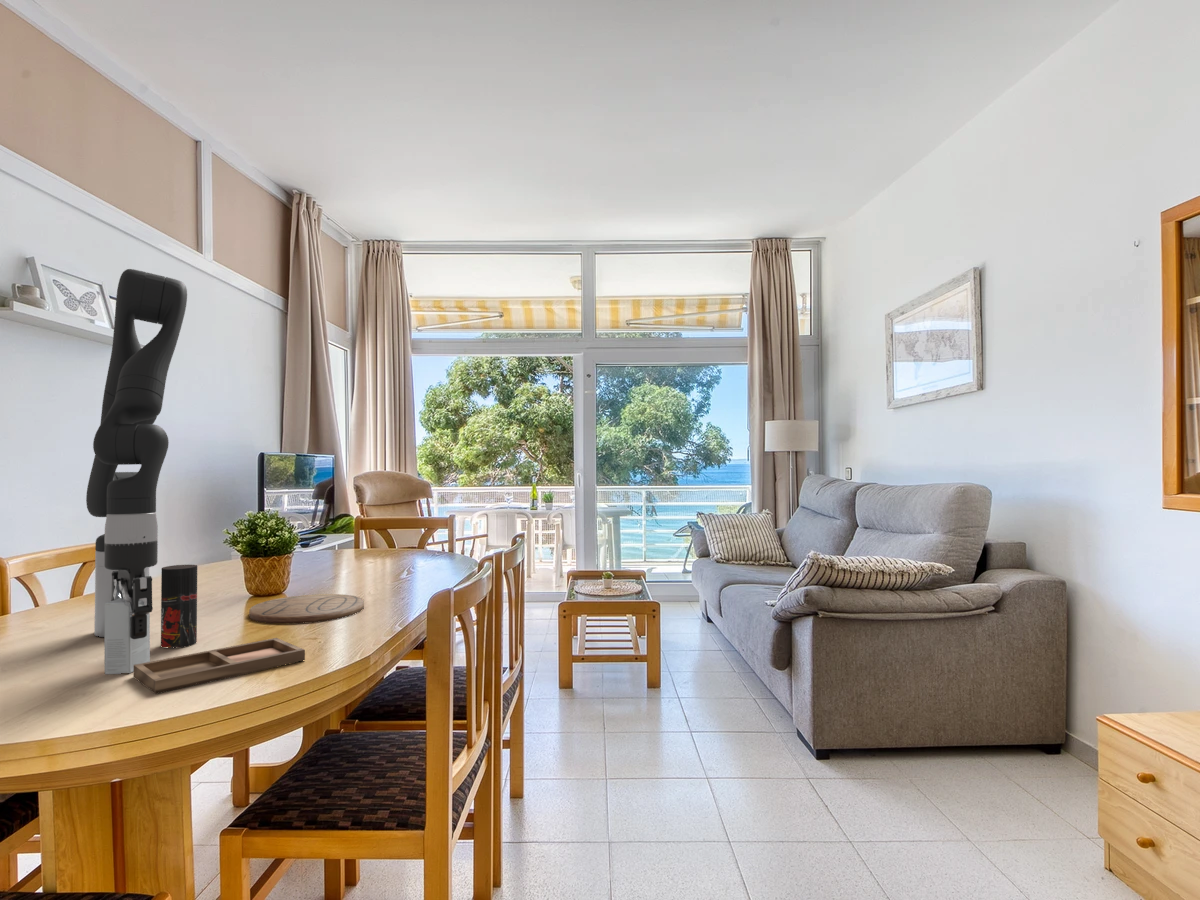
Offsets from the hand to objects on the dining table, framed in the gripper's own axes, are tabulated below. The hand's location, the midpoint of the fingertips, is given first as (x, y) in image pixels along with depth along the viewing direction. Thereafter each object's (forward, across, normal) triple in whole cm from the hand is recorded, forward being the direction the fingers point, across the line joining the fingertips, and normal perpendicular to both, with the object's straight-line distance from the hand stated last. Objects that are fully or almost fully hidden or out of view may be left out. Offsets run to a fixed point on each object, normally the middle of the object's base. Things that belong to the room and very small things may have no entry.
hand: (131, 634), depth 116 cm
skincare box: (+6, 0, 0) cm, 6 cm away
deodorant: (+6, +11, -11) cm, 17 cm away
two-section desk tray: (+6, -12, -10) cm, 17 cm away
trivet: (+6, +21, -41) cm, 46 cm away
